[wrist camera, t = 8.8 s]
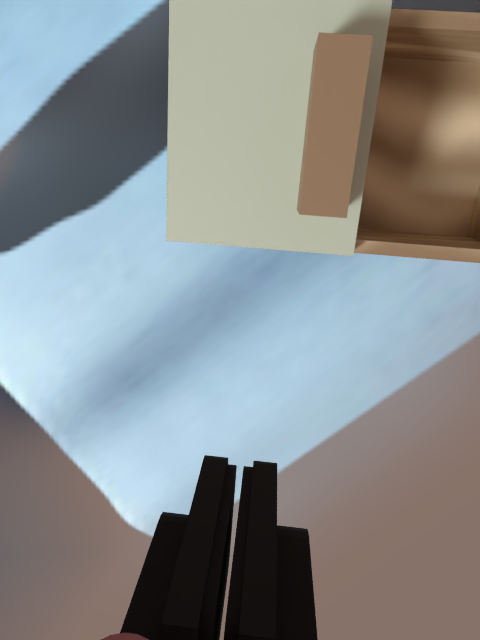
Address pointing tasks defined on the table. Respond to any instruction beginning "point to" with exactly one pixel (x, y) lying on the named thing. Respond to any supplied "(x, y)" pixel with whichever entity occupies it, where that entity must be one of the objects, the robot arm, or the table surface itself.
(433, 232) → the wooden box
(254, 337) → the table surface
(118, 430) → the table surface
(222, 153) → the lid
